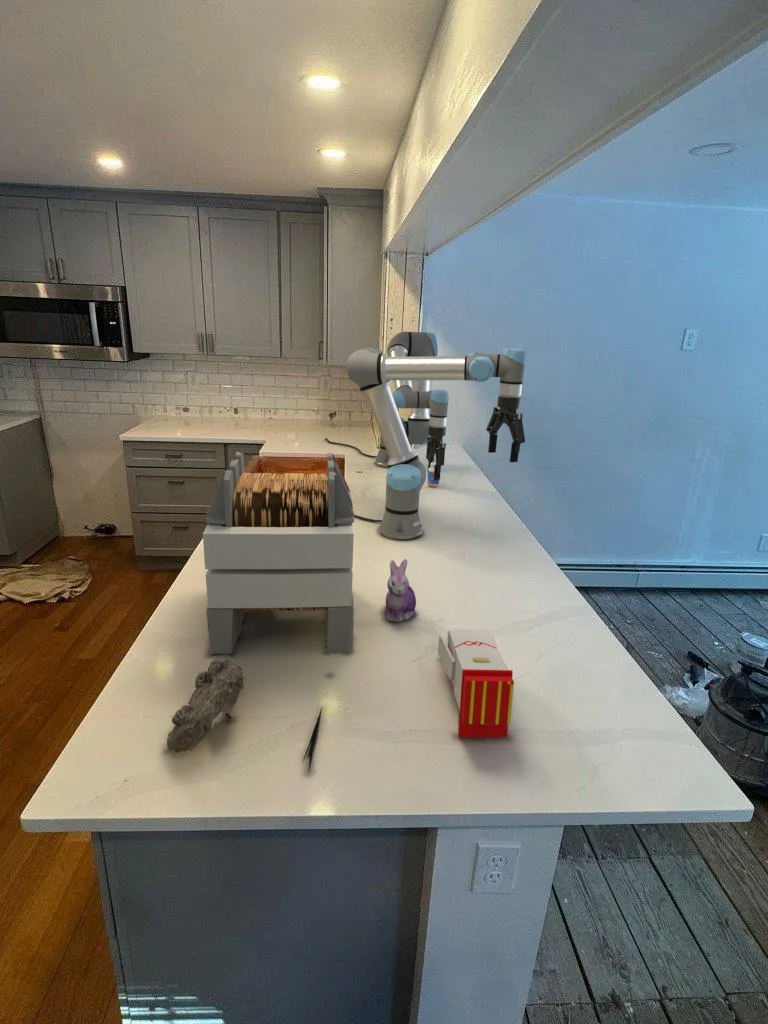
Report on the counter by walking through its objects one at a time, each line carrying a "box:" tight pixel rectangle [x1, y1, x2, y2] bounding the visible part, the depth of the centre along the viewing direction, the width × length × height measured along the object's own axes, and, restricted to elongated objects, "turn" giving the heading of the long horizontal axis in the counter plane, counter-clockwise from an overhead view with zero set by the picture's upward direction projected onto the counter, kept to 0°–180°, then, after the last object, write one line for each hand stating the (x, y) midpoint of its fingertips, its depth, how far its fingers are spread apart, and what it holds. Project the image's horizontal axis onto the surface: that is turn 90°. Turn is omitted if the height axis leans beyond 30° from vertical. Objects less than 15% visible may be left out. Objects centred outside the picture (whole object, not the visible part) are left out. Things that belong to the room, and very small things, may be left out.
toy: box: [437, 628, 515, 738], centre depth 117 cm, size 12×13×30 cm
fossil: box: [166, 658, 245, 754], centre depth 106 cm, size 22×10×15 cm
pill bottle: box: [426, 461, 440, 487], centre depth 253 cm, size 6×5×10 cm
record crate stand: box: [202, 451, 355, 655], centre depth 137 cm, size 34×33×41 cm
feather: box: [301, 673, 332, 771], centre depth 108 cm, size 2×28×2 cm
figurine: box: [384, 558, 417, 623], centre depth 145 cm, size 9×10×15 cm
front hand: (502, 457), depth 199 cm, fingers open, 13 cm apart
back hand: (433, 477), depth 254 cm, fingers open, 5 cm apart
